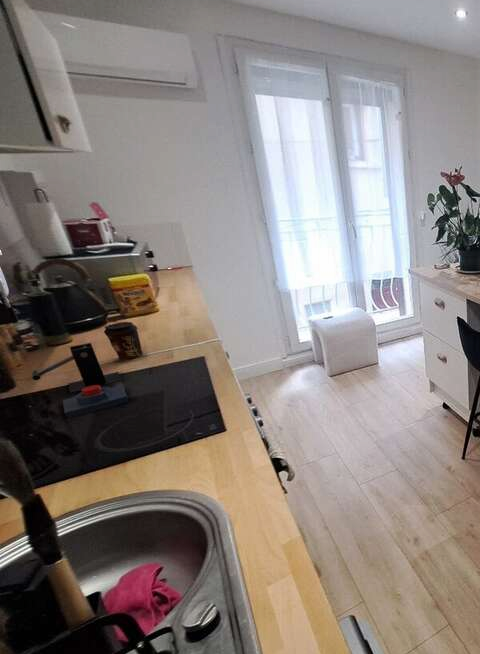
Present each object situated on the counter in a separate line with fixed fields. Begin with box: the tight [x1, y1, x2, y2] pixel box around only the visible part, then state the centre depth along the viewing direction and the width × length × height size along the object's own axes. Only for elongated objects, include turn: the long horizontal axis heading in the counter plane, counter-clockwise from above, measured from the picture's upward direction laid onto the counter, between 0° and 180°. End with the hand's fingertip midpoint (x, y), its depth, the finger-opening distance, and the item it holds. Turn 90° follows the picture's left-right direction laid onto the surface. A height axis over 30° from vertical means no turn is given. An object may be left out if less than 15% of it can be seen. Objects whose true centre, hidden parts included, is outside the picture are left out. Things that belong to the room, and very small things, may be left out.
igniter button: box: [80, 385, 102, 396], centre depth 113 cm, size 4×4×2 cm
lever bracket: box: [68, 342, 123, 394], centre depth 123 cm, size 11×9×13 cm
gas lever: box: [31, 346, 86, 381], centre depth 119 cm, size 13×5×2 cm, turn 140°
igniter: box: [62, 384, 130, 419], centre depth 114 cm, size 12×10×4 cm
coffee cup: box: [103, 321, 144, 362], centre depth 142 cm, size 9×8×13 cm
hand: (9, 322), depth 104 cm, fingers closed
